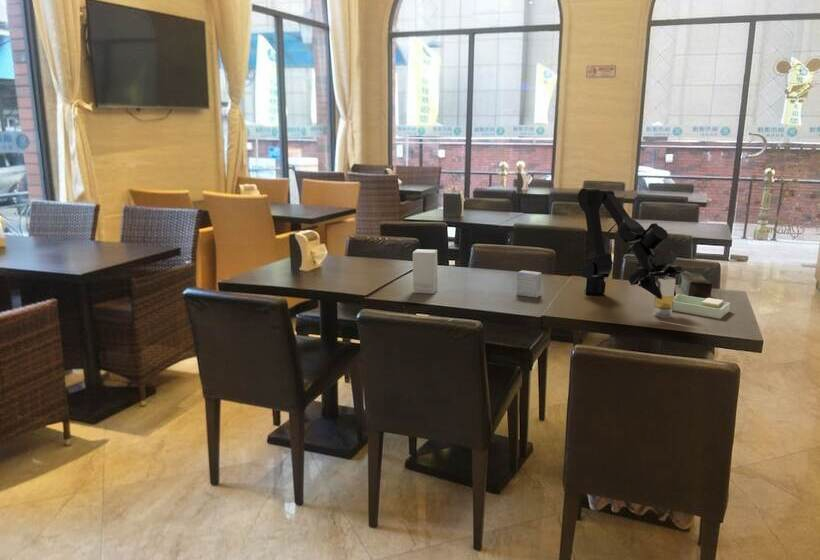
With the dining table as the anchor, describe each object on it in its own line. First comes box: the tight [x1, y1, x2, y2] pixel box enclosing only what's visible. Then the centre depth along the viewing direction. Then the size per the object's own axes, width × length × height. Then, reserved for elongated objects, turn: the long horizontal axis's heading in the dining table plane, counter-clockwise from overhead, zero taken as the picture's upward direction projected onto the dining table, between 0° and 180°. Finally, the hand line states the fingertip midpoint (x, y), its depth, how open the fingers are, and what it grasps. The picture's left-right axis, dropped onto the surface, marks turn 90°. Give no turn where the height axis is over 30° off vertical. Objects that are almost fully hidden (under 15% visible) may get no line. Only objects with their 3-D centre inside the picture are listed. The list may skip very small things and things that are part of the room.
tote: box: [672, 293, 731, 320], centre depth 216 cm, size 17×11×4 cm, turn 51°
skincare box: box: [412, 248, 439, 295], centre depth 237 cm, size 8×7×16 cm
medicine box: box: [516, 270, 543, 299], centre depth 234 cm, size 8×4×9 cm, turn 59°
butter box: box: [701, 297, 725, 309], centre depth 213 cm, size 5×7×4 cm
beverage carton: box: [677, 271, 713, 299], centre depth 242 cm, size 8×19×7 cm, turn 169°
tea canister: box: [653, 276, 677, 319], centre depth 209 cm, size 6×6×13 cm
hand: (667, 297), depth 207 cm, fingers closed on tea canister, 6 cm apart
